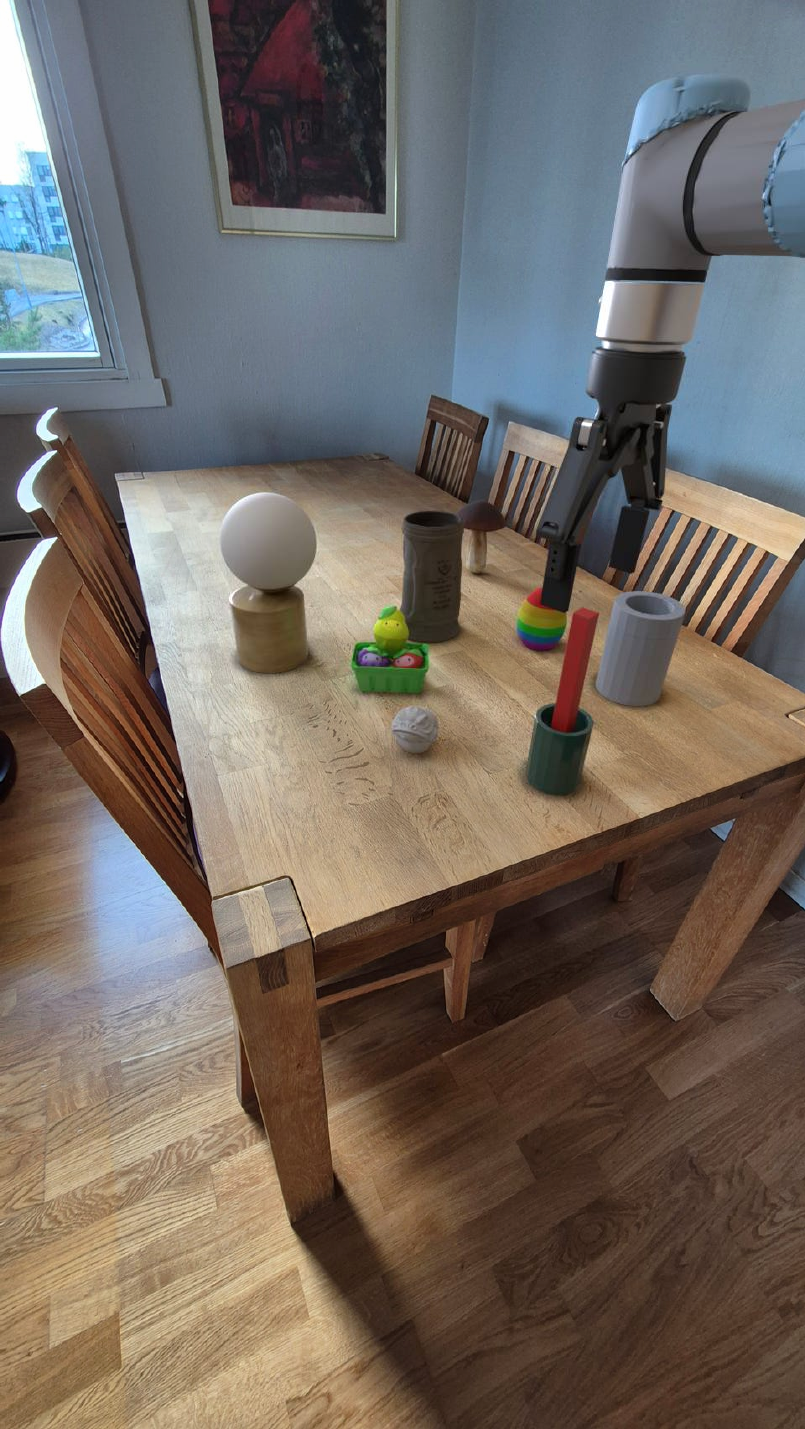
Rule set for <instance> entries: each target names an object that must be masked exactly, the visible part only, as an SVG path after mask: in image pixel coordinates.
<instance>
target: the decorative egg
mask: <svg viewBox="0 0 805 1429" xmlns="http://www.w3.org/2000/svg"><path fill="white" fill-rule="evenodd" d="M542 587H543V586H542ZM542 587H539V588H536V589H535V590H533V591H532V592H531V593H530V594H529V595H528V596H527V597H525V599H524V601H523V602H522V604H521V606H520V608H519V610H518V612H517V616H516V631H517V635H518V637H519V640H520V641H521V643H522V644H523V645H524V646H526V648H527V647H528V648H529V649H531V650H537V651H545V650H546V651H547V650H550V649H552V648H554V647H555V646H556V645H558V644H559V642H560V641H561V640H562V638H563V636H564V634H565V631H566V628H567V624H568V614H567V612H565V613H562V612H560V611H557V610H554V609H552V608H549V607H546V606H543V605H541V604H540V600H541V594H542Z"/></svg>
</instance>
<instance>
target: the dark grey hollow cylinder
mask: <svg viewBox="0 0 805 1429" xmlns="http://www.w3.org/2000/svg"><path fill="white" fill-rule="evenodd" d="M464 532H465V528H464V527H463V520H462V518H461V517H460V516H458V515H456V513H453V512H448V511H442V510H420V511H414V512H411V513H408V514H407V513H406V515H405V516H404V517H403V519H402V526H401V533H402V534H403V539H402V557H403V566H404V567H403V568H404V570H403V573H402V577H403V578H402V593H401V596H402V597H401V604H400V607H399V610H400V611H401V612H402V613H403V614H404V616H405V623H406V625H407V627H408V631H409V636H408V639H410V640H413V641H416V642H420V643H421V642H422V643H439V642H440V643H441V642H443V641H447V640H450V639H452V638H453V637H455V636H456V635H457V634H458V633H459V630H460V625H459V624H460V623H459V617H460V609H461V601H462V592H461V591H462V577H463V576H462V575H463V559H462V558H463V557H462V549H463V548H462V547H463V546H462V545H463V537H464Z"/></svg>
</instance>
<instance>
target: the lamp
mask: <svg viewBox="0 0 805 1429" xmlns="http://www.w3.org/2000/svg"><path fill="white" fill-rule="evenodd" d="M317 544H318V543H317V534H316V530H315V527H314V524H313V522H312V521H311V518H310V517H309V515H308V514H307V512H306V511H305V510H304V509H303V507H301V506H300V505H299V504H298V503H297V502H295V501H294V500H293V499H291V498H289V497H287V496H285V495H282V494H279V493H275V492H257V493H253V494H249V495H247V496H245V497H243V498H241V499H240V500H237V502H236V503H234V504H233V505H232V506H231V507H230V509H228V511H227V513H226V515H225V516H224V518H223V520H222V523H221V527H220V531H219V547H220V552H221V555H222V558H223V560H224V562H225V565H226V566H227V567H228V569H229V570H230V572H231V573H232V574H233V575H234V576H235V577H236V578H237V580H239V581H240V582H242V583H243V584H245V586H242V587H240V588H238V589H236V590H235V591H233V592H232V594H230V596H229V606H230V613H231V619H232V620H231V621H232V627H233V632H234V633H233V634H234V640H235V647H236V652H237V653H236V654H237V660H238V662H239V664H240V665H241V666H242V667H243V668H245V669H246V670H249V671H251V672H255V673H261V674H277V673H284V672H288V671H292V670H293V669H296V668H298V667H300V666H301V665H303V664H304V663H305V662H306V660H307V659H308V657H309V644H308V643H309V642H308V632H307V617H306V606H305V594H304V592H303V591H302V589H301V588H300V587H298V586H296V585H297V584H298V583H299V582H300V581H301V580H303V579H304V577H305V576H307V574H308V573H309V572H310V570H311V568H312V566H313V564H314V562H315V558H316V554H317Z"/></svg>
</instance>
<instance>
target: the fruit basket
mask: <svg viewBox="0 0 805 1429" xmlns="http://www.w3.org/2000/svg"><path fill="white" fill-rule="evenodd" d="M372 629H373V630H372V632H373V636H374V641H358V642H356V643H355V644H354V646H353V649H352V650H353V651H352V655H351V659H350V667H351V669H352V671H353V673H354V676H355V679H356V682H357V685H358V689H359V691H360V692H367V693H368V692H376V693H389V692H391V693H396V694H404V693H407V694H420V693H421V690H422V687H423V684H424V681H425V678H426V675H427V673H428V671H429V668H430V645H429V644H427V643H421V642H420V643H418V642H417V643H416V642H408V641H407V640H408V639H409V638H408V636H409V631H408V627H407V625H406V623H405V616H404V614H403V613H402V612H401V611H400V609H398V608H397V605H391V606H390V605H386V606H384V607H383V608H382V610H381V611H380V614H379V616H378V620H377V621H376V623H375V624H374V625H373V628H372Z"/></svg>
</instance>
